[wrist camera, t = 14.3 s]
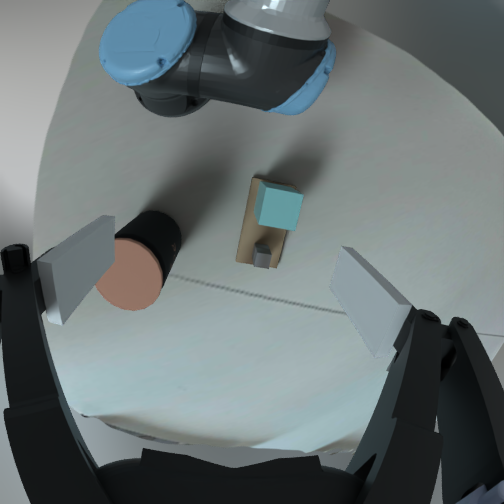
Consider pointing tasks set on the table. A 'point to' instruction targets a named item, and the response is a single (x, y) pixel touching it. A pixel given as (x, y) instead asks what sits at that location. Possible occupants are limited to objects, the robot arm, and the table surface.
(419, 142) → the table surface
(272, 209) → the teal rectangular block
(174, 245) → the coffee jar
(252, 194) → the stand
